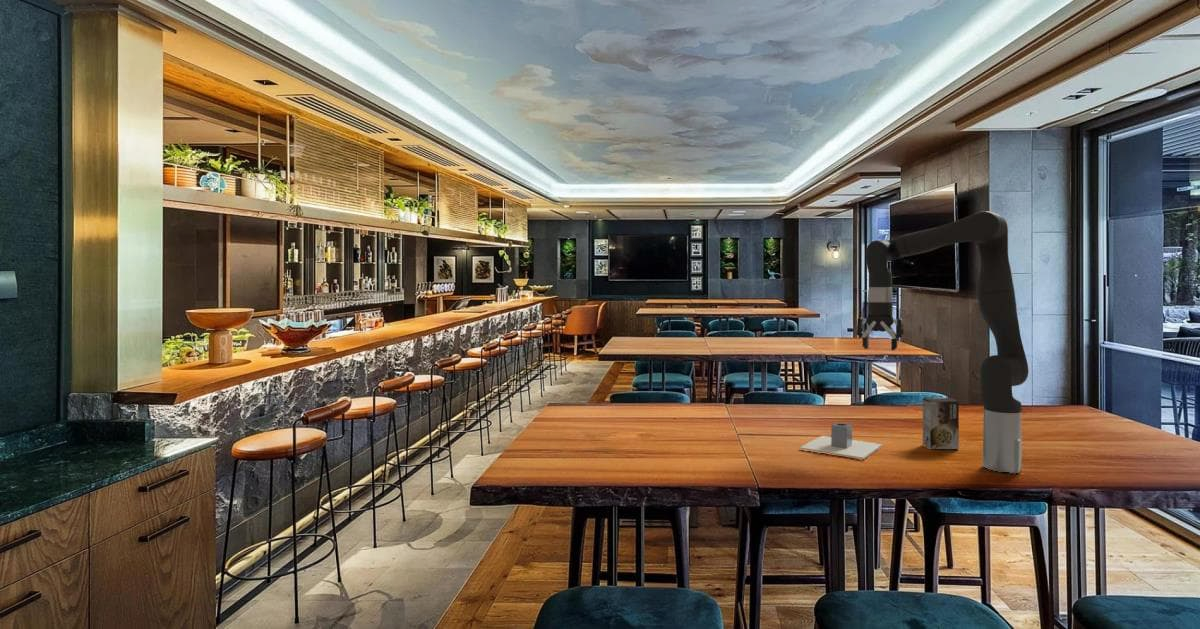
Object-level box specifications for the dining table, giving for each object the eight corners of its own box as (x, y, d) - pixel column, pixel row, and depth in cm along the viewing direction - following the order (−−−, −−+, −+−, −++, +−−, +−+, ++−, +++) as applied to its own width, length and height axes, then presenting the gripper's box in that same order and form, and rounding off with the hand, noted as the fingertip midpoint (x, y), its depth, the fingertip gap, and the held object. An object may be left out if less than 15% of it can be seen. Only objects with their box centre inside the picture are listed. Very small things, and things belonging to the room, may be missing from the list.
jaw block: (851, 445, 208) (852, 424, 207) (846, 448, 204) (847, 427, 203) (836, 443, 211) (836, 422, 210) (831, 446, 207) (831, 425, 206)
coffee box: (950, 445, 210) (951, 397, 210) (959, 450, 204) (960, 400, 203) (921, 445, 211) (922, 397, 211) (929, 450, 205) (930, 400, 204)
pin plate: (882, 447, 209) (882, 428, 208) (863, 460, 193) (863, 440, 193) (821, 438, 221) (822, 420, 221) (799, 450, 206) (799, 431, 206)
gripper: (906, 300, 208) (905, 349, 209) (861, 300, 217) (861, 347, 218) (900, 301, 203) (899, 351, 203) (854, 300, 212) (854, 349, 212)
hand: (879, 349), depth 211 cm, fingers open, 8 cm apart
